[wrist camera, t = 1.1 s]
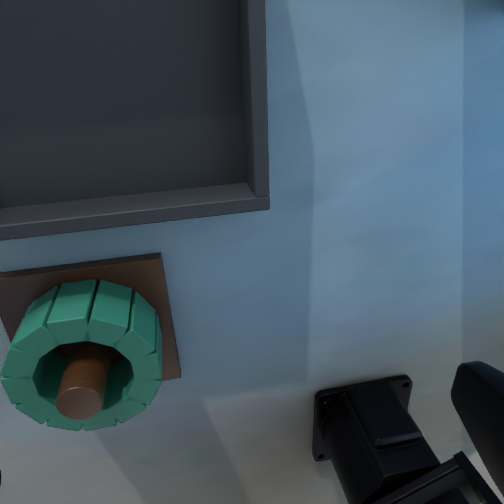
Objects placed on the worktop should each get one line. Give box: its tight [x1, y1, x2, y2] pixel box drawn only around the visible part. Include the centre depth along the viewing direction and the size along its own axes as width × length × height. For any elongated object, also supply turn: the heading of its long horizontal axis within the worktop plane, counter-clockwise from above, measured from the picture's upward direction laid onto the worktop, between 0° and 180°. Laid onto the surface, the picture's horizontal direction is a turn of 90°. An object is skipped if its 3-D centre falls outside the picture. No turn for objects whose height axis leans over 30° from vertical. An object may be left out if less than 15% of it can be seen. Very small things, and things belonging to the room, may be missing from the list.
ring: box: [0, 279, 162, 431], centre depth 19 cm, size 6×6×3 cm
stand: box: [0, 253, 181, 420], centre depth 19 cm, size 8×8×5 cm
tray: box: [0, 0, 270, 241], centre depth 14 cm, size 14×13×2 cm
